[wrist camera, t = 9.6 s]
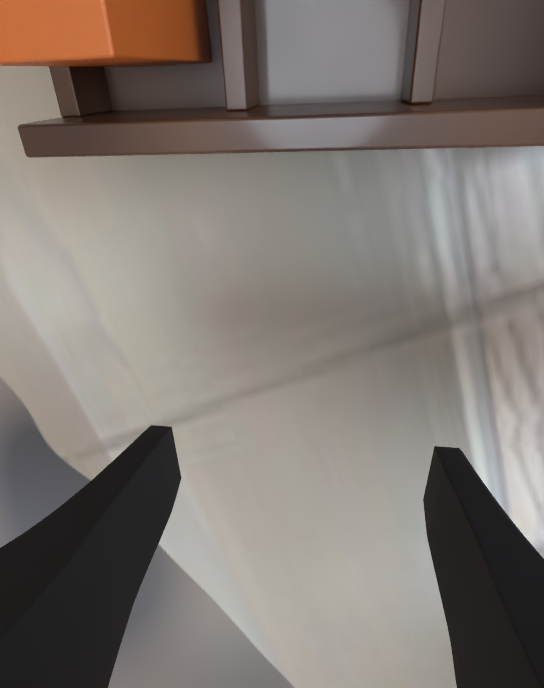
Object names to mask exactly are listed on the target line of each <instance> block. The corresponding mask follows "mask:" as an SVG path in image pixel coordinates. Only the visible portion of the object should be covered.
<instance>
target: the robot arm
mask: <svg viewBox="0 0 544 688" xmlns="http://www.w3.org/2000/svg"><path fill="white" fill-rule="evenodd" d="M180 480H181V474H180V469H179V463H178V458H177V453H176V448H175V442H174V437H173V432H172V427H166V426H153V425H151V426H150V427H149V428H148V429H147V430H146V431H144V432H143V433H142V434H141V435H140V436H139V437H138V438H137V439H136V440H135V441H134V442H133V443H132V444H131V445H130V446H129V447H127V448H126V449H125V450H124V451H123V452H122V453H121V454H120V455H119V456H118V457H117V458H116V459H115V460H114V461H113V462H111V463H110V464H109V465H108V466H107V467H106V468H105V469H104V470H103V471H102V472H100V473H99V474H98V475H97V476H96V477H95V478H94V479H93V480H92V481H90V482H89V483H88V484H87V485H86V486H84V488H82V489H81V490H80V491H79V492H77V493H76V494H75V495H74V496H73V497H71V498H70V499H69V500H68V501H67V502H65V503H64V504H63V505H62V506H60V507H59V508H58V509H56V510H55V511H54V512H52V513H51V514H50V515H49V516H47V517H46V518H44V519H43V520H42V521H40V522H39V523H37V524H36V525H35V526H33V527H32V528H30V529H29V530H28V531H26V532H25V533H23V534H22V535H20V536H19V537H17V538H15V539H14V540H12V541H11V542H9V543H8V544H6V545H4V546H3V547H1V548H0V688H108V685H109V681H110V678H111V675H112V671H113V668H114V664H115V661H116V658H117V654H118V651H119V647H120V644H121V641H122V637H123V635H124V632H125V628H126V625H127V622H128V619H129V616H130V613H131V610H132V607H133V604H134V601H135V598H136V595H137V593H138V590H139V588H140V585H141V583H142V581H143V578H144V576H145V574H146V571H147V569H148V566H149V564H150V562H151V559H152V557H153V554H154V552H155V550H156V548H157V545H158V543H159V541H160V538H161V536H162V534H163V531H164V529H165V526H166V524H167V522H168V519H169V517H170V514H171V512H172V509H173V505H174V502H175V499H176V495H177V491H178V488H179V484H180ZM423 501H424V511H425V521H426V529H427V537H428V542H429V547H430V551H431V556H432V560H433V564H434V569H435V573H436V578H437V582H438V586H439V591H440V595H441V599H442V604H443V608H444V612H445V617H446V621H447V626H448V631H449V636H450V642H451V647H452V655H453V662H454V669H455V677H456V684H457V688H544V559H543V558H542V556H541V555H540V554H539V553H538V552H537V551H536V549H535V548H534V547H533V546H532V545H531V544H530V542H529V541H528V540H527V539H526V538H525V536H524V535H523V534H522V533H521V532H520V530H519V529H518V528H517V527H516V525H515V524H514V523H513V522H512V520H511V519H510V518H509V516H508V515H507V514H506V513H505V511H504V510H503V509H502V507H501V506H500V505H499V503H498V502H497V501H496V499H495V498H494V497H493V495H492V494H491V493H490V491H489V490H488V488H487V487H486V486H485V484H484V483H483V481H482V480H481V479H480V477H479V476H478V474H477V473H476V471H475V470H474V468H473V467H472V465H471V464H470V462H469V461H468V460H467V458H466V456H465V455H464V453H463V452H462V451H461V450H460V449H459V448H450V447H437V446H435V447H434V452H433V457H432V461H431V466H430V471H429V475H428V480H427V485H426V489H425V494H424V499H423Z"/></svg>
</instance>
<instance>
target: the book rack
mask: <svg viewBox="0 0 544 688" xmlns="http://www.w3.org/2000/svg"><path fill="white" fill-rule="evenodd" d="M206 10H207V20H208V31H209V42H210V53H211V62H210V63H199V64H179V65H160V66H140V67H71V66H49V68H50V72H51V76H52V80H53V84H54V88H55V92H56V96H57V100H58V104H59V108H60V112H61V116H62V118H56V119H50V120H44V121H39V122H33V123H27V124H21V125H19V126H18V130H19V133H20V137H21V140H22V143H23V147H24V150H25V153H26V156H27V157H30V158H31V157H76V156H120V155H164V154H209V153H253V152H297V151H342V150H386V149H430V148H475V147H519V146H544V0H206Z"/></svg>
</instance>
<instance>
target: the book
mask: <svg viewBox="0 0 544 688" xmlns="http://www.w3.org/2000/svg"><path fill="white" fill-rule="evenodd" d="M210 62H211V53H210V42H209V31H208V20H207V10H206V0H0V66H71V67H140V66H160V65H179V64H199V63H210Z"/></svg>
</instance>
